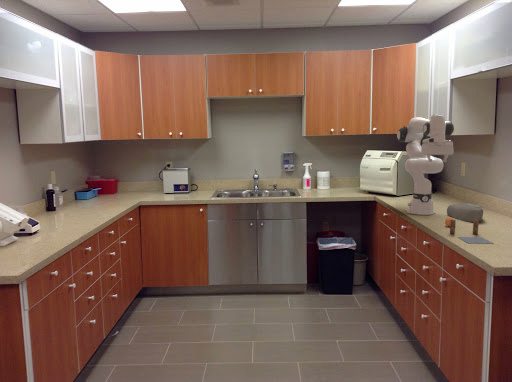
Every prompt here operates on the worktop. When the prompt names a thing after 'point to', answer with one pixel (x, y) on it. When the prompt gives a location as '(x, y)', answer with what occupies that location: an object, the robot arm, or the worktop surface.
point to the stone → (465, 212)
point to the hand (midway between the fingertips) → (437, 162)
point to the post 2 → (475, 227)
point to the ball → (448, 221)
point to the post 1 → (452, 227)
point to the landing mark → (475, 240)
